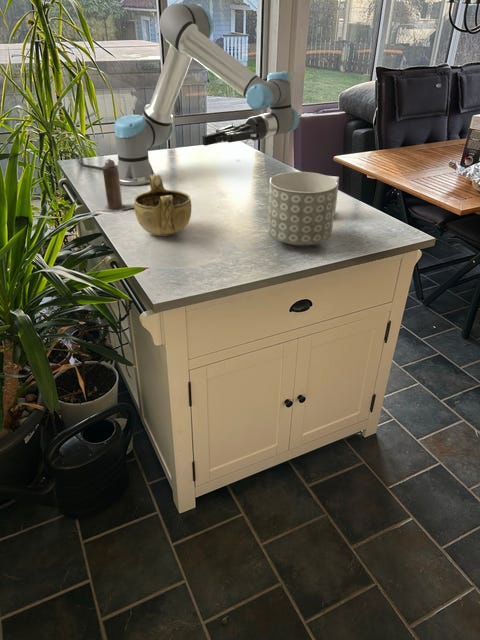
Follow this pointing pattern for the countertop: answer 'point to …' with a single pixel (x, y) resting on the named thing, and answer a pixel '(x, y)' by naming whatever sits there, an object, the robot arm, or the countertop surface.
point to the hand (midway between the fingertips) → (203, 140)
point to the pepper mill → (112, 185)
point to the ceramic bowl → (162, 209)
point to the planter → (301, 208)
